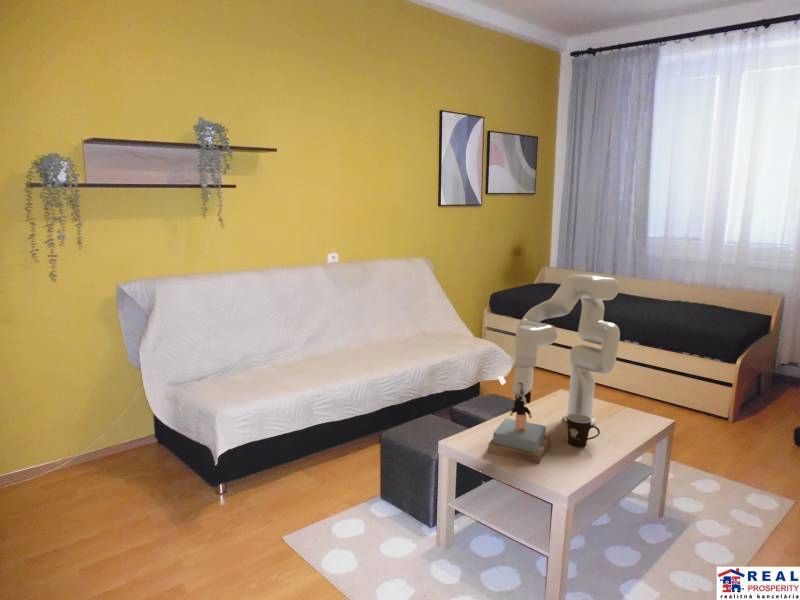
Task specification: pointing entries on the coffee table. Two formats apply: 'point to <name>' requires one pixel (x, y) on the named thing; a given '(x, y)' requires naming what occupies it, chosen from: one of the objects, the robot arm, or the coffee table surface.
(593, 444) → the coffee table surface
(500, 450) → the tower base block
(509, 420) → the tower top block
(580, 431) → the coffee mug
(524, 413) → the grandmother figurine
